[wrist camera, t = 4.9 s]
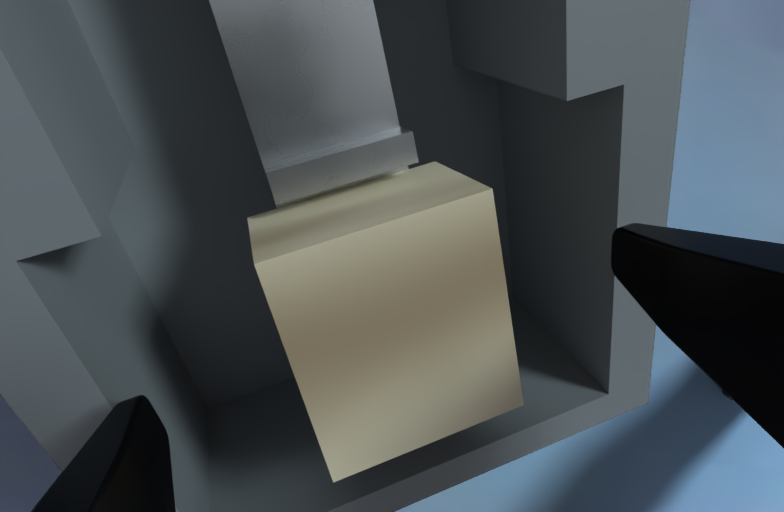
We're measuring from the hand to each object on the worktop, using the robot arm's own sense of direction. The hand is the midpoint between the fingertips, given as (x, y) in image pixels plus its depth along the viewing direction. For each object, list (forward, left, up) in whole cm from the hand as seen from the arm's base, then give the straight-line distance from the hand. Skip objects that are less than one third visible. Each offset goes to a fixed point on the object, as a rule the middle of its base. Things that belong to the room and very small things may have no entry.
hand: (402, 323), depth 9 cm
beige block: (0, 0, -2) cm, 2 cm away
